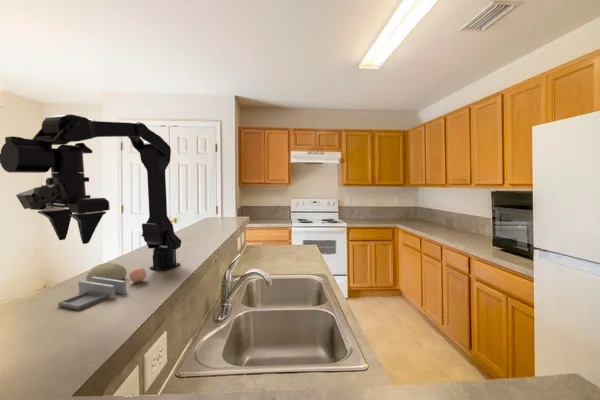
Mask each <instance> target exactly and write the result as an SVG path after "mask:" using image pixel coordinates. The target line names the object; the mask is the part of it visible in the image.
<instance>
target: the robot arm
mask: <svg viewBox="0 0 600 400" xmlns="http://www.w3.org/2000/svg"><path fill="white" fill-rule="evenodd" d="M104 137H105V138H112V137H113V138H116V137H117V138H119V137H120V138H121V137H122V138H128V139H129V140H130V143H131V145H132V147H133V148H134V149H135V150H136V151H137V152H138V153H139V157H140V162H141V163H142V165H143V166H144V168H145V169H146V171H147V172H146V173H147V174H146V177H147V196H148V197H147V198H148V214H149V215H148V216H149V217H148V219H147V221H146V222H145V223H142V224H141V231H142V233H141V237H143V241H144V242H146V245H147V247H148V249H150V250H151V249H152V252H153V254H152V265H150V267H149V269H152V270H157V271H159V270H160V271H168V270H171V269H173V268H175V267H178V266H180V265H181V263H180V262H177V250H178V249H179V248H181V245H182V239H181V238H179V237H178V236H177V235H176V234H175V229H174V224H173V222H171V219H170V218H169V217H168V209H167V207H168V206H167V204H168V203H167V184H166V183H167V182H166V169H167V167H168V166H169V164H170V162H171V155H172V150H171V146H170V145H169V144H168V142H166V141H165V140H164V138H162V137H161V136H160V135H159V134H157V133H156V132H154V131H153V130H150V128H148V126H146V124H145V123H143V122H139V121H138V122H123V121H121V122H120V121H97V120H92V119H91V118H88V117H84V116H81V115H76V114H61V115H52V116H47V117H45V119H43V121H42V123H41V128H40V129H39V130H38V131H37V133H35V135H34V136H33V137H32V138H24V137H20V136H6V137H4V140H5V141H4V144H3V145H2V146H1V149H0V166H1V168H2V169H3V170H4V171H5V172H6V173H13V174H15V173H21V174H22V173H23V174H27V173H28V174H29V173H31V174H34V173H35V174H37V173H40V174H43V173H44V174H45V173H48V172H49V170H50V172H51V177H47V178H46V179H45V184H42V185H40V186H37V187H33V188H31V189H29V190H25V191H22V192H19V193H17V194H16V198H17V199H18V201H19V202H20V204H21V206H22V208H23V209H24V210H27V209H29V210H33V211H37V213H38V214H40V215H42V216H44V217H45V218H47V219H48V220H49V223H50V224H51V226H52V228H53V230H54V232H55V234H56V236H57V238H58V240H59V241H63V240H66V239H67V235H68V233H69V232H68V231H69V226H70V224H71V219H74V220H75V221H76V222H77V226H78V231H79V235H80V239H81V242H82V244H83V245H86V244H89V243H90V241H91V239H92V238H93V235H94V233H95V231H96V229H97V226H98V225H99V223H100V222H101V219H102V218H103V216H105V215H106V214H107V211H110V210H111V207H110V201H109V200H108V199H107V198H105V197H91V194H87V192H86V182H90V177H89V176H88V177H87V176H85V166H84V154H92V153H93V150H92V149H91V148H90V147H88V146H87V145H86V144H85V143H84V142H82V141H85V140H86V141H87V140H92V139H94V138H104ZM73 142H74V143H75V142H77V143H75V144H73V145H72V144H69V143H73ZM53 146H58V147H57V148H54V147H53Z"/></svg>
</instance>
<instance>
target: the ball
mask: <svg viewBox="0 0 600 400" xmlns="http://www.w3.org/2000/svg"><path fill="white" fill-rule="evenodd" d="M146 277H147V271H146V270H145V268H143V267H135V268H133V269H132V270H130V272H129V279H130V281H131V282H133V283H141V282H143V281H144V280H145V279H146Z"/></svg>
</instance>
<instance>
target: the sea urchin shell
mask: <svg viewBox="0 0 600 400" xmlns="http://www.w3.org/2000/svg"><path fill="white" fill-rule="evenodd" d="M127 273H128V270H127V269H126V268H125V267H124V266H123V265H121V264H119V263H115V262H106V263H104V262H103V263H99V264H97V265H95V266H94V267H92V268H91V269H90V270H89V271H88V273H87V274H86V278H85V281H89V282H91V277H101V278H108V279H114V280H121V281H123V280H124V279H125V278H126V276H127Z"/></svg>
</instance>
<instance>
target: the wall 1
mask: <svg viewBox="0 0 600 400" xmlns="http://www.w3.org/2000/svg"><path fill="white" fill-rule="evenodd" d="M87 291H89V292H95V293H100V294H106V295H107V299H111V300H113V299H115V298H116V293H115V286H114V285H108V284H101V283H95V282H89V281H87V280H79V281H78V292H79V293H78V294H82V293H85V292H87Z"/></svg>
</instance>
